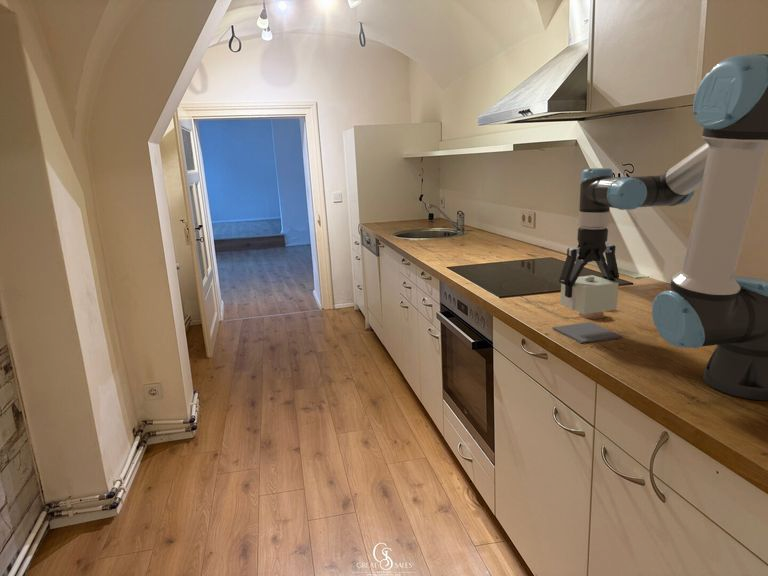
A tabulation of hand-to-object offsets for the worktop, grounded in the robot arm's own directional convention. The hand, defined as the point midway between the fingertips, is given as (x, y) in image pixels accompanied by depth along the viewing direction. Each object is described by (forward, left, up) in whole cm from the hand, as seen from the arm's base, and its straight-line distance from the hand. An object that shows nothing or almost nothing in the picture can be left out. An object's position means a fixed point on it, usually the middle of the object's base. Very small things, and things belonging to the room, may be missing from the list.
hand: (587, 306), depth 142 cm
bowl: (+13, -12, -8) cm, 19 cm away
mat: (0, 0, -8) cm, 8 cm away
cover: (0, 0, 0) cm, 0 cm away
